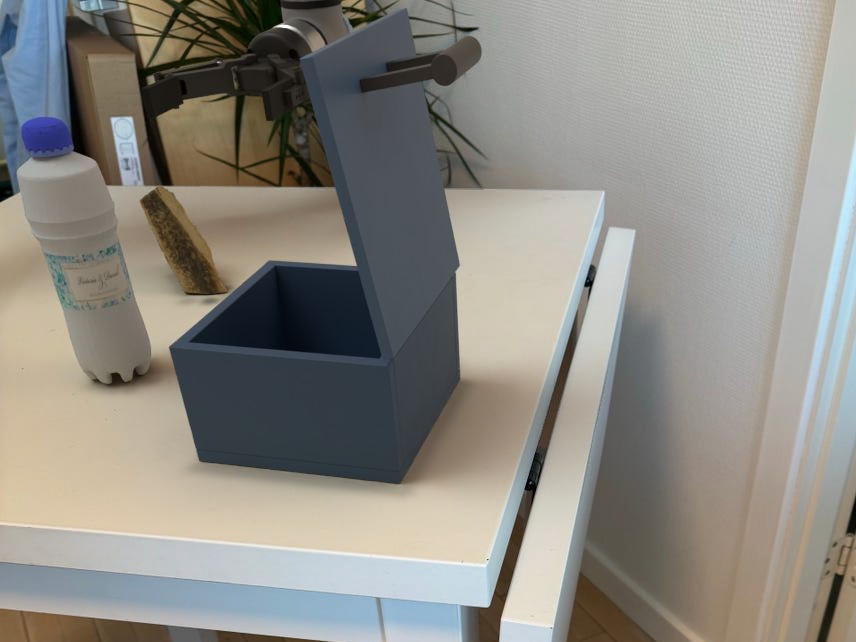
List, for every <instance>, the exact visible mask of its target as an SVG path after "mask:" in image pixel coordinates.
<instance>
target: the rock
mask: <svg viewBox="0 0 856 642" xmlns="http://www.w3.org/2000/svg"><path fill="white" fill-rule="evenodd" d="M139 203H140V205H141V208H142V210H143V213H144V216H145V218H146V220H147V222H148V224H149V226H150V228H151V231H152V233H153V235H154V237H155V239H156V242H157V244H158V246H159V249H160V251H161V252H162V253H163V255H164V259H165V260H166V262H167V264H168V266H169V267H170V269H172V271H173V272H174V274H175V275H176V277H177V279H178V283H180V284H179V285H180V287H181V289H182V291H183V292H185V293H186V294H187V293H188V294H203V295H213V294H218V293H220V294H221V293H223V294H225V293H227V292H228V288H227V287H225V285H224V283H223V280H222V277H220V274H219V272H218V270H217V268H216V263H215V261H214V259H213V254H212V250H211V248H210V246H209V244H208V243H207V240H206V239H204V237H203V236H202V234H201V233H200V231H199V229H198V228H197V226H196V225H195V224H194V223H193V222H192V220H191V219H190V217H189V216H188V214H187V212H186V210H185V208H184V206H183V204H181V202H180V201H179V200H178V199H177V197H176V195H175V193H174V192H173V191H170V190H169V189H168V188H165V187H164V186H163V185H157V186H156V187H155V188H154V189H153V190H150V191H149V192H148V193H147V194H145V195H144V196H143V197H142V198H140V199H139Z"/></svg>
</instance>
